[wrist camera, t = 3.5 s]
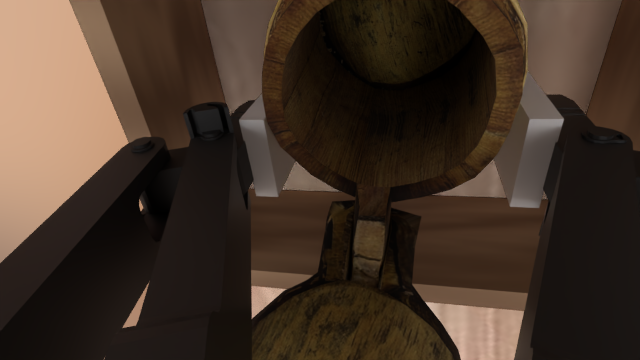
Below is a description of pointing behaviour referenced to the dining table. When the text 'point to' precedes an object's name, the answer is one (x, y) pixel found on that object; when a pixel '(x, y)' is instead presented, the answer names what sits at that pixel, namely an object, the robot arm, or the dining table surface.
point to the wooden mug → (382, 155)
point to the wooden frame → (312, 206)
